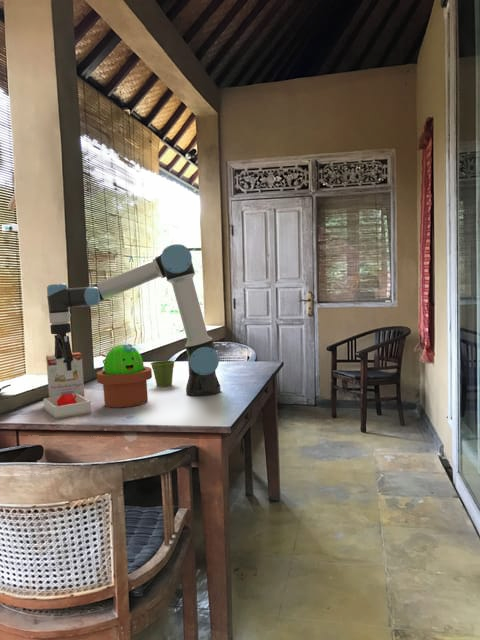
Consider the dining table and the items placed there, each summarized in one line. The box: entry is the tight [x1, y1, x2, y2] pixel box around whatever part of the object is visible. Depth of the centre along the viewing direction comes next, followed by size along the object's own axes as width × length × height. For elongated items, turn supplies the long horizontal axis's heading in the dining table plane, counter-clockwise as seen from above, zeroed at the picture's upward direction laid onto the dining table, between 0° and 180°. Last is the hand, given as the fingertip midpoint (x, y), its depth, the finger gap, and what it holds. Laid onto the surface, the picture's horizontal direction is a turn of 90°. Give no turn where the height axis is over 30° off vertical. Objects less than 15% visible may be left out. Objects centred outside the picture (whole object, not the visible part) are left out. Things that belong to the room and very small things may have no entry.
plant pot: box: [149, 360, 176, 388], centre depth 242 cm, size 12×12×11 cm
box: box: [43, 393, 92, 420], centre depth 199 cm, size 20×13×4 cm, turn 32°
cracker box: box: [45, 352, 86, 398], centre depth 215 cm, size 14×6×21 cm, turn 118°
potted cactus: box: [96, 343, 153, 409], centre depth 207 cm, size 22×22×25 cm
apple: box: [57, 393, 77, 406], centre depth 199 cm, size 7×7×8 cm
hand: (65, 376), depth 199 cm, fingers open, 13 cm apart
